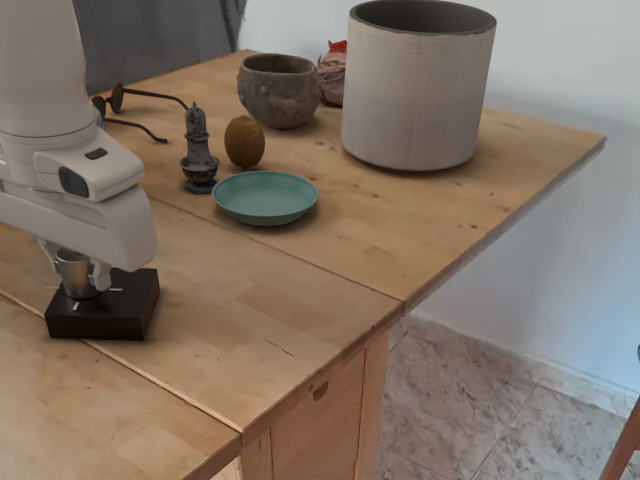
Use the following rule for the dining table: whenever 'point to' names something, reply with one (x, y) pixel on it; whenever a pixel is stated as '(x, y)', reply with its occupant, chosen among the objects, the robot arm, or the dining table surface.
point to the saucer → (265, 197)
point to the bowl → (279, 89)
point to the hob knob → (76, 273)
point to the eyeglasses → (116, 104)
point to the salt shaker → (198, 154)
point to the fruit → (244, 142)
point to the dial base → (106, 308)
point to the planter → (415, 83)
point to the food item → (333, 73)
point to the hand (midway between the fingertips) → (82, 280)
